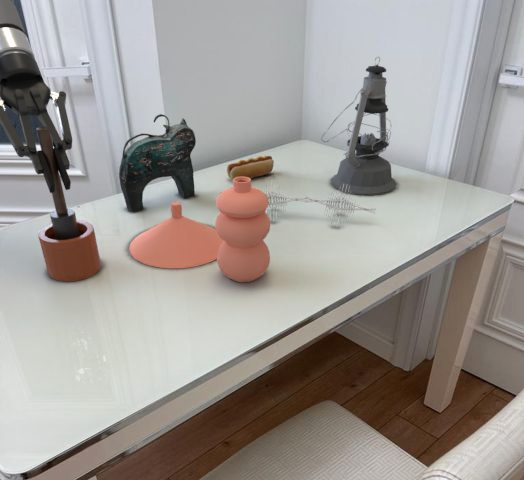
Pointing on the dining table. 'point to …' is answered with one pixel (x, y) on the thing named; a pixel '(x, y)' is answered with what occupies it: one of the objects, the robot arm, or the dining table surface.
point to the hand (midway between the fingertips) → (60, 187)
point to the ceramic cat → (157, 163)
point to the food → (250, 167)
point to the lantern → (367, 143)
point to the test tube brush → (315, 201)
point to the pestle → (57, 192)
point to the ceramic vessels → (213, 236)
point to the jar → (70, 253)
